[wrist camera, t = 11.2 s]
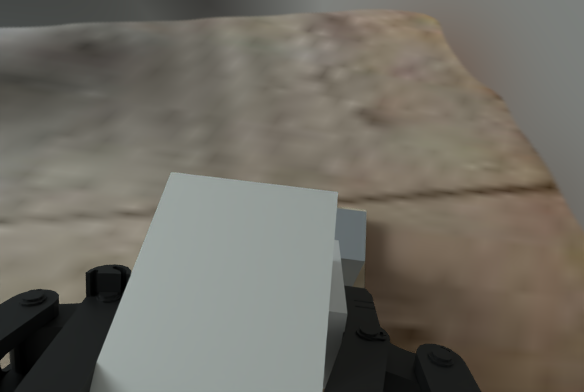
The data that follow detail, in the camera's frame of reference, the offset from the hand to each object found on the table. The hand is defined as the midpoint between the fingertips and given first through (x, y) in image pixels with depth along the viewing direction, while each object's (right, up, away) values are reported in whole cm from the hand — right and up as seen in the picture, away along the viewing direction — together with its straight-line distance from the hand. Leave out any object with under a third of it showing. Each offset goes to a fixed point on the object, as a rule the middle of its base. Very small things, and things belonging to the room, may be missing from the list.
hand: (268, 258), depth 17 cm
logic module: (-1, -5, +1) cm, 5 cm away
